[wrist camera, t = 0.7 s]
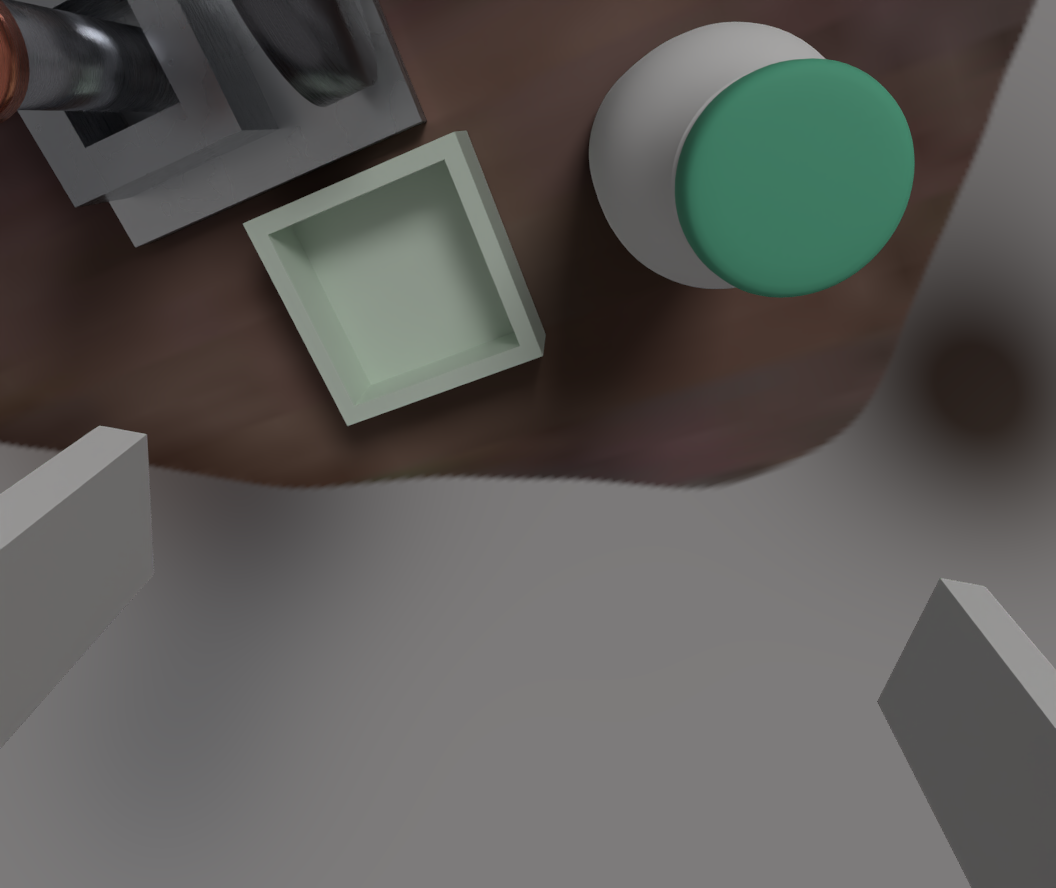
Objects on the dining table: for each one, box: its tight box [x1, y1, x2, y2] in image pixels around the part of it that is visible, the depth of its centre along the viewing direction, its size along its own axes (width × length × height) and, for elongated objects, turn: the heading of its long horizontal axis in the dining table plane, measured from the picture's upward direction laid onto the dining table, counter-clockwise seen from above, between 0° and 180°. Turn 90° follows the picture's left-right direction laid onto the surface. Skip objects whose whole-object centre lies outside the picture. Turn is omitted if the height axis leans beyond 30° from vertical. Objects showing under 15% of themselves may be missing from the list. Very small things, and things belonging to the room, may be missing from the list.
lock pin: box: [0, 0, 180, 123], centre depth 26 cm, size 4×4×12 cm
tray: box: [243, 131, 546, 426], centre depth 34 cm, size 10×10×4 cm
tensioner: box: [15, 0, 427, 247], centre depth 28 cm, size 12×15×10 cm
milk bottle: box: [589, 22, 914, 297], centre depth 24 cm, size 8×8×20 cm
